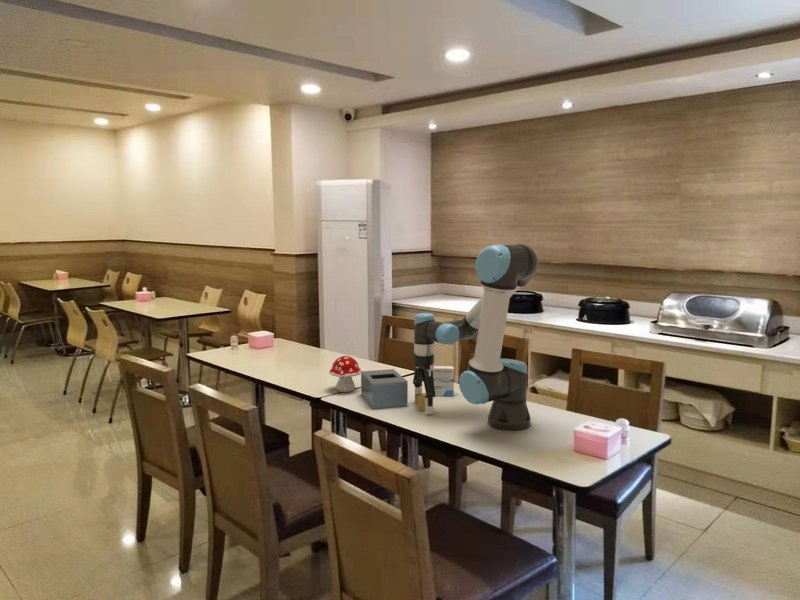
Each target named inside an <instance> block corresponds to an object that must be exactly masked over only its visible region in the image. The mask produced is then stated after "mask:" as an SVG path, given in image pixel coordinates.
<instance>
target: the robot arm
mask: <svg viewBox="0 0 800 600" xmlns="http://www.w3.org/2000/svg"><path fill="white" fill-rule="evenodd" d="M477 255H478V256H477V257H476V260H475V267H474V268H475V272H476V273H477V274H476V276H477V277H478V279H479V280H480V283H479V285H480V286H481V287H482V288H483V294H482V297H480V299H479V300H478V301H477V302H476V303H475V305H473V306H472V308H471V309H470V310H469V311H468V313H466V315H464V317H463V318H461V319H457V320H450V321H437V320H436V319H435V314H434V313H429V312H420V313H417V314H415V315H414V324H413V326H414V327H413V328H414V329H413V331H414V332H413V333H414V334H413V337H414V338H413V339H414V340H413V341H414V342H413V353H414V354H413V363H414V365H415V366H414V367H415V368H414V374H413V379H412V384H413V386H414V395H415V394H420V393H423V386H424V389H425V393H426V396H425V398H426V410H424V411H425V415H433V414H434V398H436V397H437V396H436V395H435V388H434V380H433V370H431V368H430V366H433V365H434V364H435V355H434V353H435V347H436V345H435V343H440V344H442V345H449V346H450V345H451V346H453V345H454V344H455V343H457V342H458V341H462V340H469V339H470V340H472V339H475V338H476V342H475V343H476V344H475V348H474V349H475V350H474V356H473V357H472V358H471V359H470V360H469V361H468V365H467V366H468V367H467V370H465V371H463V372H462V373H461V374H460V376H459V379H458V387H459V391H460V392H461V394H462V396H463V397H464V399H465V400H466V401H467V402H468V403H470V404H473V405H482V404H483V405H484V404H487V403H490V402H492V403H491V407H490V408H489V412H488V414H487V424H488V425H489V426H490V427H493V428H495V429H498V430H505V431H521V430H526V429H528V428H530V427H531V424H532V423H531V422H532V418H531V415H530V412H529V408H528V404H527V388H528V366H527V364H526V363H525V362H524V361H522V360H521V361H520V360H516V359H513V358H512V359H511V358H502V357H501V355H502V349H503V342H504V336H505V331H506V324H507V319H508V318H507V317H508V311H509V305H510V300H511V299H510V298H511V297H512V296H513V295H514V294H515V293H516V292H517V291H518V289H520V288H525V286H526V285H527V284H529V283H530V281H531V280H532V279H533V278H534V276H535V274H536V273H537V271H538V268H539V257H538V255H537V253H536V252H535V249H533V248H532V247H530V246H529V245H526V244H522V243H516V244H515V243H514V244H494V245H488V246H486V247H484V249H482V250H481V251H480V252H479V254H477Z"/></svg>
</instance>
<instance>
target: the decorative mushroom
mask: <svg viewBox="0 0 800 600" xmlns="http://www.w3.org/2000/svg"><path fill="white" fill-rule="evenodd" d="M361 371H362V368H360V366H359V363H358V362H357V360H356V359H355V358H353V357H351V356H349V355H342V356H340V357H339V356H338V357H337V358H336V359H335V360H334V362H333V363H332V366H331V369H330V370H329V371H328V373H329V375H331V377H338V381H337V382H336V384H335V389H336V390H337V392H339V393H343V392H347V393H352V392H353V391H354V389H355V388H356V384H355V382H354V380H353V377H357V376H359V375H360V376H361Z"/></svg>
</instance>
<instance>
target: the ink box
mask: <svg viewBox="0 0 800 600" xmlns="http://www.w3.org/2000/svg"><path fill="white" fill-rule="evenodd" d="M454 373H455V367H454V366H453V365H452V366H450V365H449V366H448V365H447V366H446V365H434V366H433V380H434V388H435V395H436V396H435V397H454V395H455V393H454V392H455V391H454V388H455V387H454V385H455V383H454V382H455V374H454Z"/></svg>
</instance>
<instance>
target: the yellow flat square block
mask: <svg viewBox="0 0 800 600" xmlns="http://www.w3.org/2000/svg"><path fill="white" fill-rule="evenodd" d="M425 396H426V392H422V393H420V394H415V393H414V404H415V407H414V409H415V410H416V411H417V412H419V411H420V412H421V411H426V398H425Z"/></svg>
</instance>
